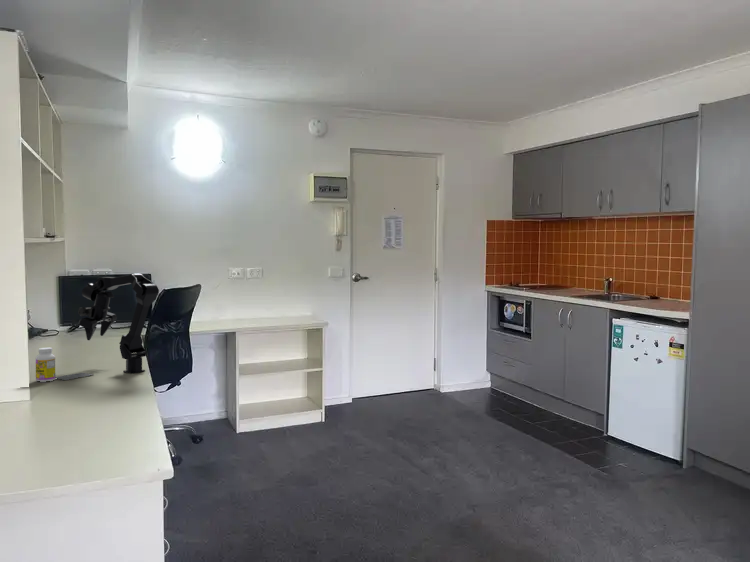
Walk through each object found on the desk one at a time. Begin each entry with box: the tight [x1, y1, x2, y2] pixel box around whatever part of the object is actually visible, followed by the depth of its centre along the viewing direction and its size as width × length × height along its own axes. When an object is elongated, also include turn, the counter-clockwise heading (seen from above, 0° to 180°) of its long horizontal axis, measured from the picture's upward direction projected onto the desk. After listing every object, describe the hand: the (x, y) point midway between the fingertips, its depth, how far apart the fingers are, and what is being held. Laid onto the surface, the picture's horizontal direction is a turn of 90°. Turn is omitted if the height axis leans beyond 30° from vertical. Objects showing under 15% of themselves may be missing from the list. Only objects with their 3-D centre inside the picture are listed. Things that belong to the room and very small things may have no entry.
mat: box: [55, 372, 94, 381], centre depth 227 cm, size 8×12×1 cm, turn 149°
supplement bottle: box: [35, 347, 56, 383], centre depth 219 cm, size 7×7×13 cm
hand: (95, 337), depth 248 cm, fingers open, 9 cm apart
